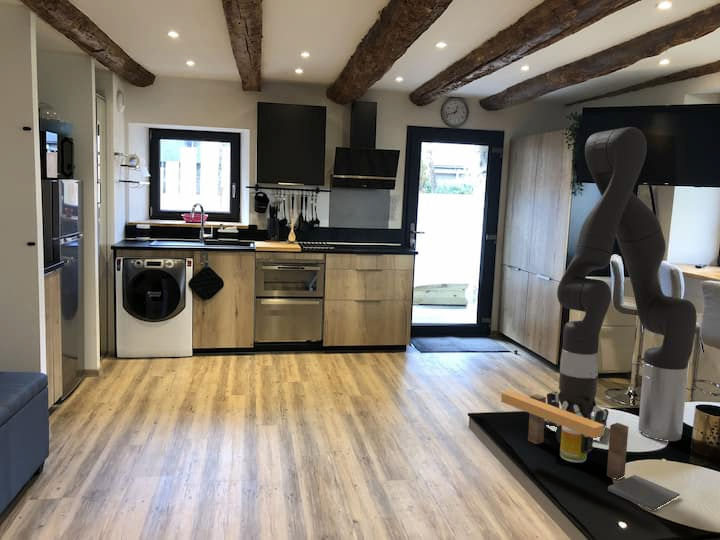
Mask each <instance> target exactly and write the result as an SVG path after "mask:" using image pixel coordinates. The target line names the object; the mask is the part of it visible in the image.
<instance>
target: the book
mask: <svg viewBox="0 0 720 540" xmlns="http://www.w3.org/2000/svg"><path fill="white" fill-rule="evenodd" d="M607 491H608V492H609V493H612V494H614V495H617V496H619V497H620V498H623V499H626V500H627V501H629V502H631V503H634V504H636V505H638V504H640V505H642V506H644V507H647V508H649V509H651V510H653V511H654V510H655V509H657V508H658V507H660V506H662V505H664V504H666V503H667V502H669V501H671V500H672V499H674V498H676V497H677V496H679V495H680V496H681V494H680V493H679V492H676V491H673V490H671V489H669V488H667V487H664V486H662V485H659V484H658V483H655V482H653V481H650V480H648V479H645V478H643V477H642V476H638V475H636V474H634V475H633V474H632V475H631V476H628V477H627V478H623V479H621V480H618V481H617V482H615V483H613V484H611V485H609V486H608V487H607ZM640 505H639V506H640ZM642 506H641V507H642ZM644 507H643V508H644ZM649 509H648V510H649ZM651 510H650V511H651ZM653 511H652V512H653ZM654 512H655V511H654Z"/></svg>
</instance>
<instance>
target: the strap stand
mask: <svg viewBox="0 0 720 540" xmlns="http://www.w3.org/2000/svg"><path fill="white" fill-rule="evenodd" d="M530 398H532V399H535V400H538V401H541V402H543V403H546V401H547V396H544V395H540V394H539V393H538V394H537V393H536V394H533V395H530ZM546 404H547V403H546ZM528 416H529V417H528V435H527V440H528V442H531V443H532V444H534V445H539V444H541V443H544V440H545V439H544V438H545V437H544V436H545V430H544V422H545V419H544V418H541V417H539V416H536V415H533V414H531V413H529V415H528ZM609 425H610V427H609V440H608V453H607V465H606V476H607V477H609V478H611V479H613V478H616V479H619V478H621V477H623V476H624V475H626V462H627V452H628V438H629V426H627V425H626V424H625V425H624V424H623V423H620V422H616V423H613V424H609Z"/></svg>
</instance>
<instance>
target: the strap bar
mask: <svg viewBox="0 0 720 540" xmlns="http://www.w3.org/2000/svg"><path fill="white" fill-rule="evenodd" d="M500 402H501V403H503V404H506V405H509V406H511V407H514V408H517V409H519V410H521V411H524V412H526V413H529V414H530V413H531V414H533V415H536V416H539V417H541V418H544V419H546V420H549V421H551V422H554V423H556V424H559V425H561V426H564V427H566V428H569V429H571V430H574V431H576V432H579V433H582V434H584V435H587V436H589V437H592V438H597V437H600V436H602V437H603V436H604V435H605V431H604V426H605V425H603V424H600V423H598V422H595V421H592V420H589V419H587V418H584V417H581V416H579V415H576V414H573V413H570V412H568V411H565V410H562V409H561V408H557V407H554V406H551V405H549V404H548V403H543V402H541V401H538V400H535V399H532V398H530V397H529V396H527V395H523V394H521V393H520V392H516V391H514V390H509V391H504V392H501V399H500Z"/></svg>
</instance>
